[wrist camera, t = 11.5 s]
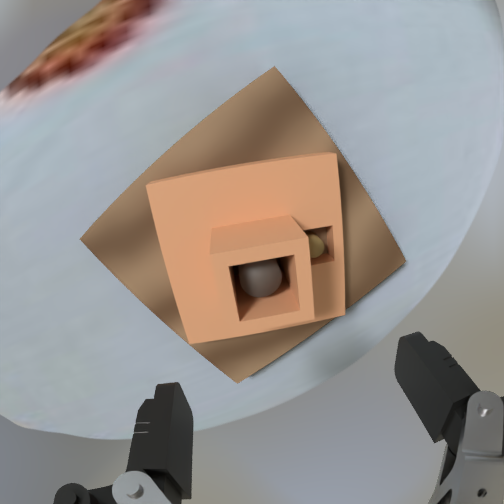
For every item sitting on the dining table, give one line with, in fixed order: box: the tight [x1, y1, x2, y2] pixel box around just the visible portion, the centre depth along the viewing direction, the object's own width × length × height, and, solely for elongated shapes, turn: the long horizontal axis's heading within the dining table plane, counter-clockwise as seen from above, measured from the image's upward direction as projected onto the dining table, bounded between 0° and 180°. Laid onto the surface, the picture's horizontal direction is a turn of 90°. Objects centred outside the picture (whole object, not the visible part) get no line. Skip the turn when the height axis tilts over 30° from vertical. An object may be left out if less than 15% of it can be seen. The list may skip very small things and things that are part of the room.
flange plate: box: [146, 152, 345, 344], centre depth 20 cm, size 12×12×6 cm
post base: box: [80, 66, 406, 383], centre depth 21 cm, size 18×18×6 cm
